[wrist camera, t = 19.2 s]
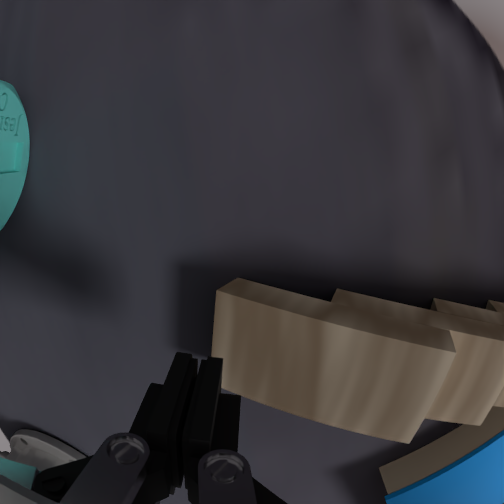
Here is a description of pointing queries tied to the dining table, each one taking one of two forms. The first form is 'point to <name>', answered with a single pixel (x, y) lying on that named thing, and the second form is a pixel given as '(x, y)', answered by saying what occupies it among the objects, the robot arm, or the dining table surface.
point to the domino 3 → (473, 314)
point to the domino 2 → (464, 364)
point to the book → (452, 467)
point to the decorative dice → (12, 150)
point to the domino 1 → (329, 359)
